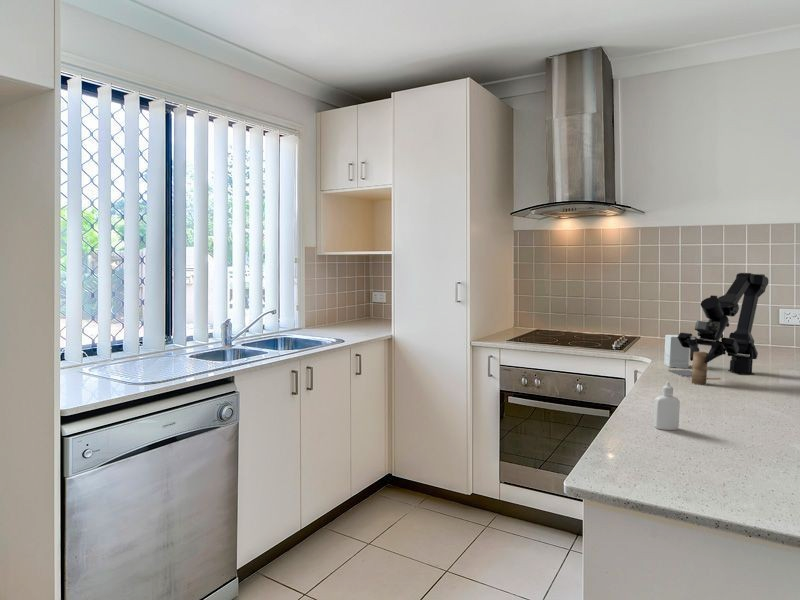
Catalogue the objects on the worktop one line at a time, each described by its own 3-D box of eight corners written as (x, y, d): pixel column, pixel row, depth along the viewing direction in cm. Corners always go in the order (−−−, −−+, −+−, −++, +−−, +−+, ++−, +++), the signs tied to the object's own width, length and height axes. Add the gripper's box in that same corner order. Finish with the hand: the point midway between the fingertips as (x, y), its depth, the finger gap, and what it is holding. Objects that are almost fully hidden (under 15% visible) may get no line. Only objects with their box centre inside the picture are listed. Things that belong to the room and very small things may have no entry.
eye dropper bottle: (654, 424, 136) (656, 378, 135) (678, 427, 133) (681, 381, 132) (652, 428, 132) (655, 382, 132) (677, 432, 130) (680, 384, 129)
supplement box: (688, 368, 210) (690, 337, 209) (668, 367, 211) (670, 336, 210) (682, 365, 217) (684, 334, 216) (663, 364, 219) (664, 334, 218)
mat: (689, 371, 204) (689, 370, 204) (703, 376, 194) (703, 375, 194) (668, 371, 204) (668, 369, 204) (682, 376, 194) (682, 375, 194)
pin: (701, 382, 186) (703, 351, 185) (708, 385, 181) (710, 353, 180) (689, 382, 186) (690, 351, 185) (696, 384, 181) (697, 353, 180)
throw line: (718, 378, 192) (718, 377, 192) (720, 379, 191) (720, 378, 191) (685, 378, 192) (685, 377, 192) (687, 378, 191) (687, 377, 191)
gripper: (681, 310, 191) (663, 342, 186) (737, 315, 176) (719, 350, 171) (691, 330, 197) (674, 362, 191) (746, 336, 181) (729, 371, 176)
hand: (698, 361), depth 182 cm, fingers open, 5 cm apart
